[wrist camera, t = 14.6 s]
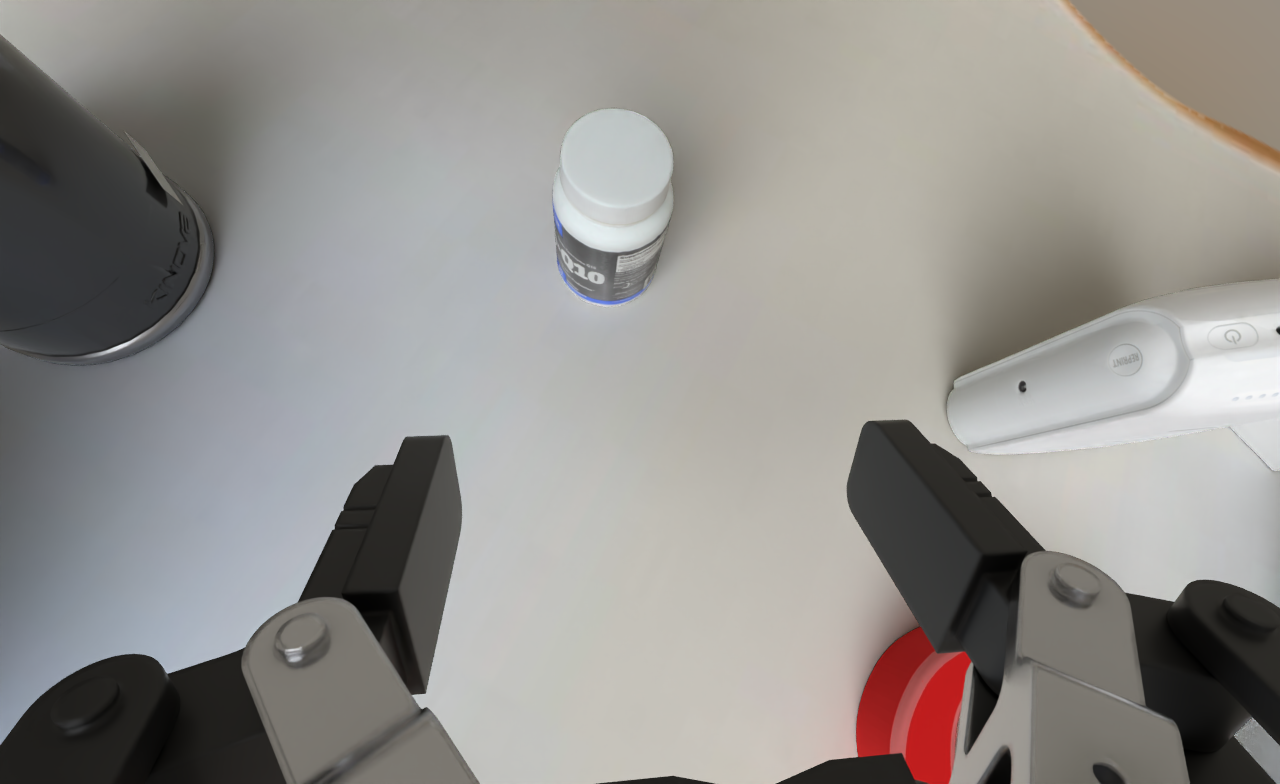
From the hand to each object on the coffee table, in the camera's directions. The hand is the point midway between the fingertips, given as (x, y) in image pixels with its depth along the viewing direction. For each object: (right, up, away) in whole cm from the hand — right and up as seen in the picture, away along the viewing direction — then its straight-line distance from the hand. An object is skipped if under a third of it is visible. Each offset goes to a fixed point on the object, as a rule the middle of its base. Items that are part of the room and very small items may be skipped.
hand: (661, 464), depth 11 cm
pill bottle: (-2, +8, +17) cm, 19 cm away
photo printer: (+19, 0, +17) cm, 26 cm away
